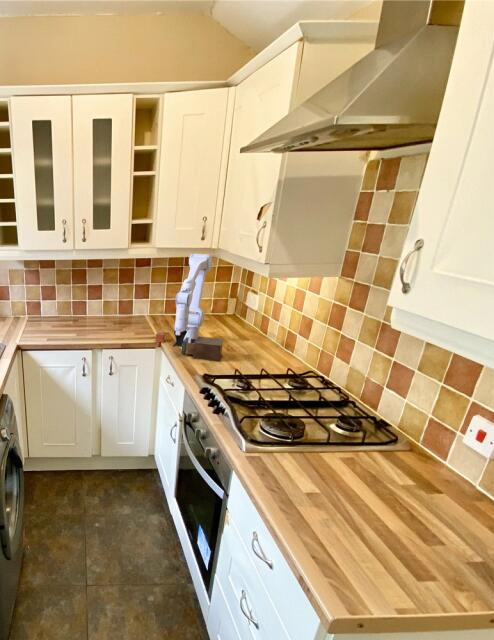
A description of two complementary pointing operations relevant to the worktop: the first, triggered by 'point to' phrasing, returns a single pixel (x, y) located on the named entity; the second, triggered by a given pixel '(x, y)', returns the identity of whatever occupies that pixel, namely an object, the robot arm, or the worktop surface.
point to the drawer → (186, 346)
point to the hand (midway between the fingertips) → (179, 345)
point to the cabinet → (208, 348)
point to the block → (160, 337)
